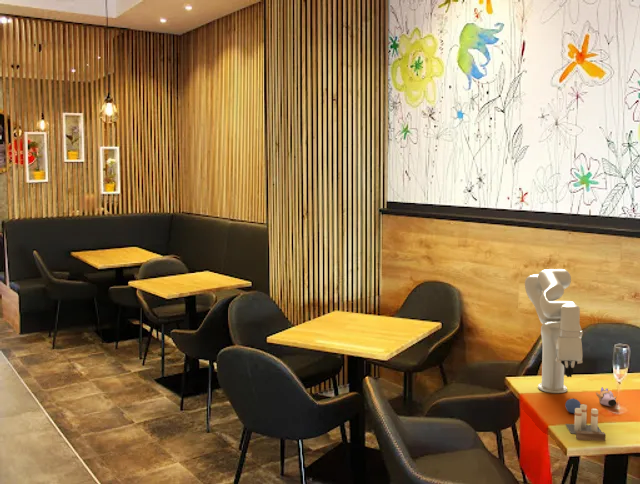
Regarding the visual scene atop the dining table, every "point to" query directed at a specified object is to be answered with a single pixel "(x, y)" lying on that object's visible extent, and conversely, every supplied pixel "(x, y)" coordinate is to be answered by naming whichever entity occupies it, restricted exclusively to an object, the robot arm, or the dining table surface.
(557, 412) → the dining table surface
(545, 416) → the dining table surface
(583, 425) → the pin front
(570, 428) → the pin deck mark
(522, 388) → the dining table surface
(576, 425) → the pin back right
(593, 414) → the pin back left
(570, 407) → the ball
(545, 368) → the robot arm
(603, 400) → the toy
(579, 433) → the backstop
